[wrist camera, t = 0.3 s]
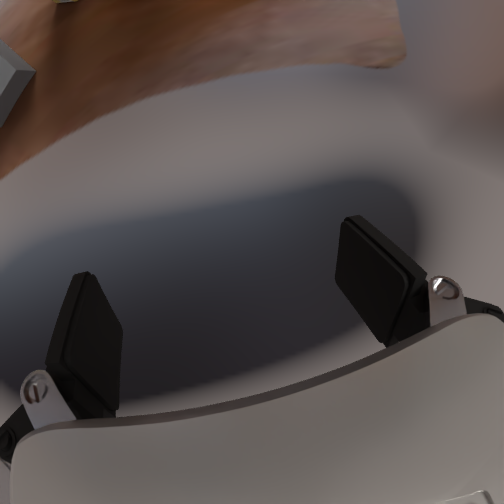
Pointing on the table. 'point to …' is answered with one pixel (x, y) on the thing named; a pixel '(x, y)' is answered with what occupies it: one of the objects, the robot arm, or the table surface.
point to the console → (11, 79)
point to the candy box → (60, 0)
